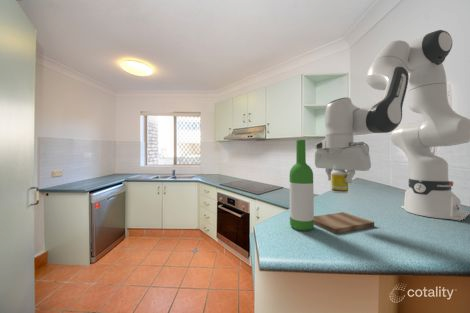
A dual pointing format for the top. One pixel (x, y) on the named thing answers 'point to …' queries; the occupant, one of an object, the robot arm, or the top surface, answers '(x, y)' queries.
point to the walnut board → (341, 222)
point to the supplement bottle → (338, 180)
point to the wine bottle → (301, 191)
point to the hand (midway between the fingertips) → (339, 181)
